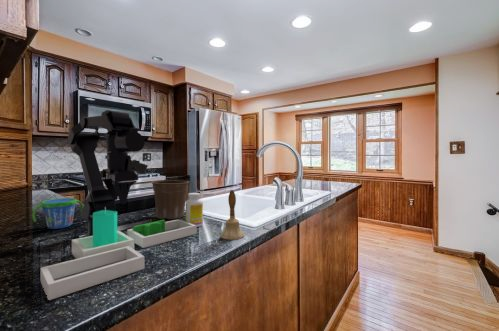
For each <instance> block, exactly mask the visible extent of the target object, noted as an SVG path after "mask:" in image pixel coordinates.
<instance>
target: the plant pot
mask: <svg viewBox="0 0 499 331" xmlns="http://www.w3.org/2000/svg"><path fill="white" fill-rule="evenodd" d="M151 184H152V191H153V192H154V202H155V203H154V205H155V217H156V218H157V219H159V220H165V219H167V220H178V219H181V218H183V217H184V216H185V212H186V201H187V200H186V199H187V191H188V188H189V187H188V186H189V184H190V181H189V180H188V181H187V180H175V179H174V180H170V179H169V180H155V181H151Z"/></svg>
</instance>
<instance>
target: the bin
mask: <svg viewBox="0 0 499 331" xmlns="http://www.w3.org/2000/svg"><path fill="white" fill-rule="evenodd" d="M126 246H129V247H131V248H132V249H134V250H135V243H134V239H132V238H131V237H129V236H127V234H125V233H124V232H122V231H120V230H117V243H112V244H108V245H104V246H99V247H95V248H93V236H88V237H87V236H85V237H80V238H75V239H73V238H72V239H71V255H72V256H73V257H74V259H78V258H82V257H86V256H90V255H94V254H98V253H102V252H106V251H110V250H114V249H118V248H122V247H126Z"/></svg>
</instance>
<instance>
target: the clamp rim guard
mask: <svg viewBox="0 0 499 331" xmlns="http://www.w3.org/2000/svg"><path fill="white" fill-rule="evenodd" d="M197 229H198V227H197V225H194V224H191V223H188V222H186V220H182V219H180V218H178V219H172V220H169V221H165V232H162V233H158V234H154V235H149V236H143V235H141V234H139V232H138V233H137V232H135V231H133V228H130V229H127V230H126V231H127V233H126V235H127V236H129V237H131V238H132V239H134V245H135V244H136V245H137V246H139V247H140V248H142V249H145V248H148V247H149V248H150V247H152V246H153V247H154V246H157V245H160V244H163V243H168V242H171V241H175V240H179V239H182V238H187V237H191V236H194V235H197V234H198V233H197V232H198V231H197Z"/></svg>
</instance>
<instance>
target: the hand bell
mask: <svg viewBox="0 0 499 331" xmlns="http://www.w3.org/2000/svg"><path fill="white" fill-rule="evenodd" d="M236 201H237V198H236V193H235V190H234V189H233V190H231V189H230V190H229V195H228V206H229V218H228V219H226V220H225V226H224V229H223V231H222V232H221V233H220V235H219V237H220V238H221V239H224V240H227V241H228V240H229V241H233V240H240V239H243V238H244V237H245V234H244V232H243V231H242V230H241V226H240V223H239V222H240V221H239V220H238V219H237V218H236V217H235V216H236V215H235V207H236V203H237V202H236Z"/></svg>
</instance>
